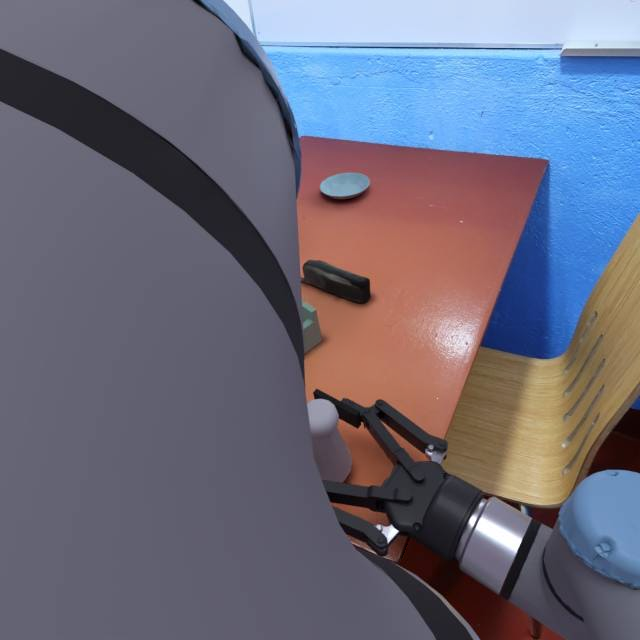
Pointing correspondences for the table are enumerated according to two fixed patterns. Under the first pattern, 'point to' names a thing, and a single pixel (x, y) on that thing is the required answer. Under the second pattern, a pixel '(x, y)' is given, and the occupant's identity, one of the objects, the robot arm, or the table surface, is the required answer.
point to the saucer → (345, 185)
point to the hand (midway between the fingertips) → (293, 422)
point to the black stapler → (336, 280)
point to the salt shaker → (328, 441)
